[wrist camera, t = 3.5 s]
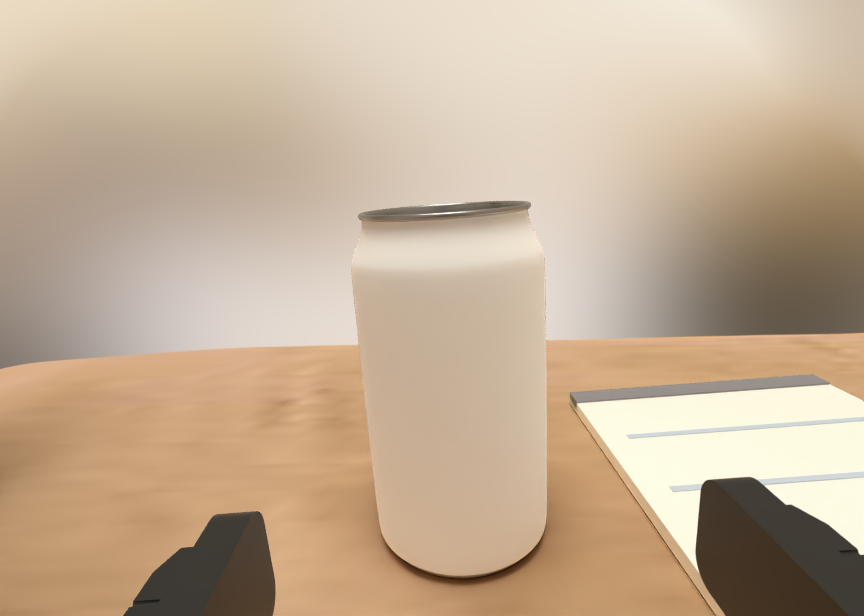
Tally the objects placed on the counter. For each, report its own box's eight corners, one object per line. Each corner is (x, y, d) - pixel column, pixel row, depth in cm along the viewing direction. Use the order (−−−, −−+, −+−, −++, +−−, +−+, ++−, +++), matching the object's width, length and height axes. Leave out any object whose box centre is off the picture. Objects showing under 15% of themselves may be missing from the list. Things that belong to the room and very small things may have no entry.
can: (581, 516, 18) (585, 198, 15) (464, 623, 14) (438, 217, 11) (461, 454, 23) (446, 201, 20) (347, 522, 19) (307, 216, 16)
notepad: (831, 782, 10) (836, 758, 10) (569, 403, 27) (569, 392, 27) (1480, 729, 10) (1497, 704, 10) (810, 385, 28) (812, 374, 27)
